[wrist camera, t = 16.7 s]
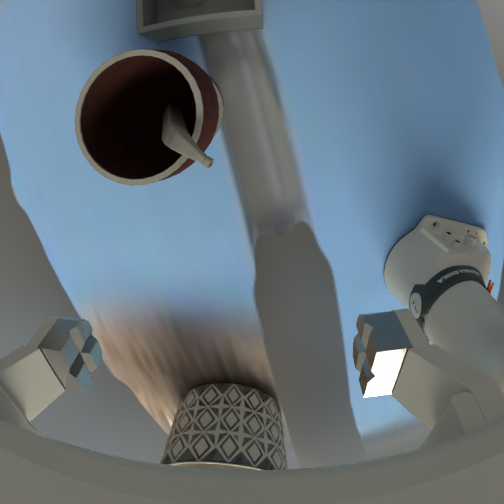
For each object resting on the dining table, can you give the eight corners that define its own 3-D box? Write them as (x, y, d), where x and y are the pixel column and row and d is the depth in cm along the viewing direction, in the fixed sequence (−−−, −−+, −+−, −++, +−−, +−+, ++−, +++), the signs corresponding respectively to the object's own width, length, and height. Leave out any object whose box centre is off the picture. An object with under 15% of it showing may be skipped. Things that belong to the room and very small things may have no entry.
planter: (190, 429, 74) (178, 498, 54) (163, 369, 62) (137, 454, 43) (286, 429, 72) (288, 502, 53) (285, 367, 61) (290, 462, 41)
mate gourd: (120, 134, 41) (37, 162, 23) (161, 50, 35) (91, 21, 17) (210, 179, 44) (174, 236, 26) (258, 95, 38) (256, 87, 21)
